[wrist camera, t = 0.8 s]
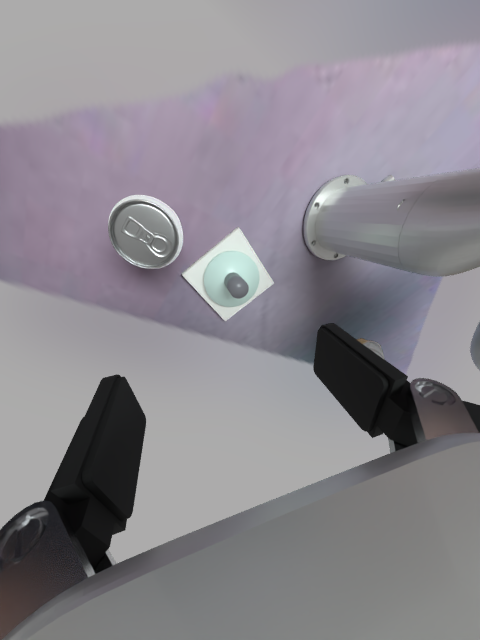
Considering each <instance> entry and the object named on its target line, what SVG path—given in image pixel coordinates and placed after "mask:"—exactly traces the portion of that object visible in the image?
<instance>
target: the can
mask: <svg viewBox="0 0 480 640" xmlns="http://www.w3.org/2000/svg"><path fill="white" fill-rule="evenodd" d="M108 231H109V237H110V240H111V243H112V245H113V247H114V248H115V250H116V251H117V252H118V254H119V255H120V256H121V257H122V258H123V259H125V260H126V261H127V262H129V263H131V264H132V265H135V266H137V267H140V268H145V269H158V268H162V267H165V266H167V265H169V264H170V263H172V262H173V261H174V260H175V259H176V258H177V256H178V255H179V253H180V251H181V248H182V244H183V231H182V227H181V223H180V221H179V218H178V216H177V215H176V213H175V212H174V211H173V210H172V209H171V208H170V207H169V206H168V205H166V204H165V203H163V202H162V201H160V200H158V199H156V198H153V197H150V196H146V195H133V196H129V197H126V198H124V199H122V200H121V201H119V202H118V203H117V204H116V205H115V206H114V208H113V209H112V211H111V213H110V216H109V221H108Z"/></svg>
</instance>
